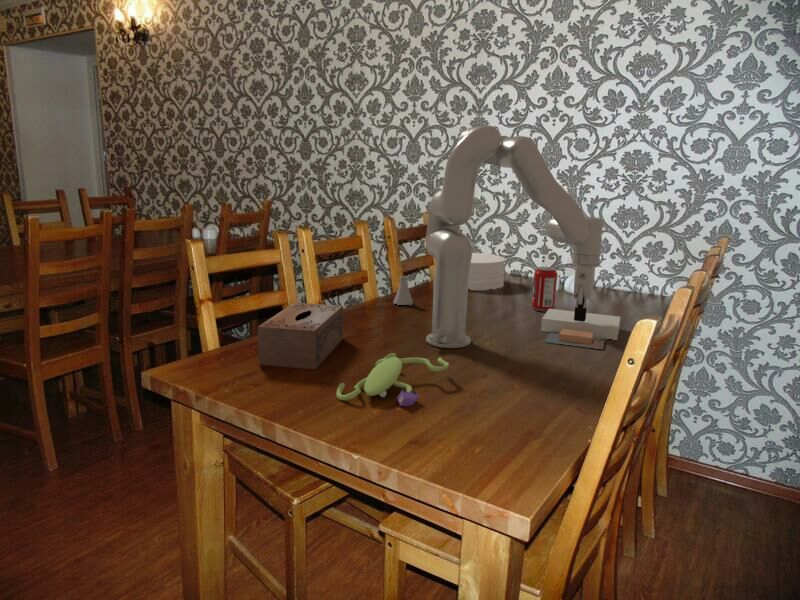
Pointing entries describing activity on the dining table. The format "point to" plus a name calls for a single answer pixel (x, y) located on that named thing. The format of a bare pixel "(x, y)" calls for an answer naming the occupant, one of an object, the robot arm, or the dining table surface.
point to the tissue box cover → (300, 335)
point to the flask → (403, 293)
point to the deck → (581, 323)
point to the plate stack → (486, 272)
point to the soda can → (544, 289)
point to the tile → (576, 336)
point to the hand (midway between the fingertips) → (579, 320)
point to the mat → (554, 338)
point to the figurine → (389, 379)
